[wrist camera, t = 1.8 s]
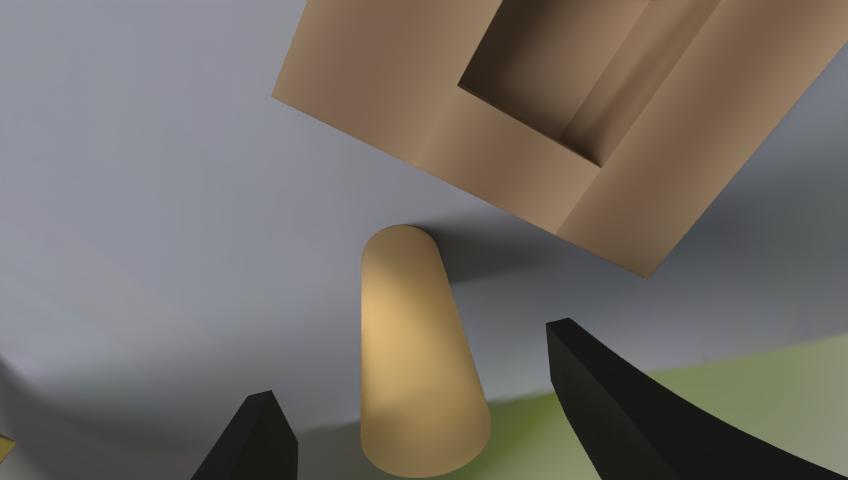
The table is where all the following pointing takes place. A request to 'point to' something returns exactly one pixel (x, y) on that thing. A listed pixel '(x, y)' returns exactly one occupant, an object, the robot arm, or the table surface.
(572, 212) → the walnut socket block
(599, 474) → the robot arm
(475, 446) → the ochre peg
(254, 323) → the table surface
